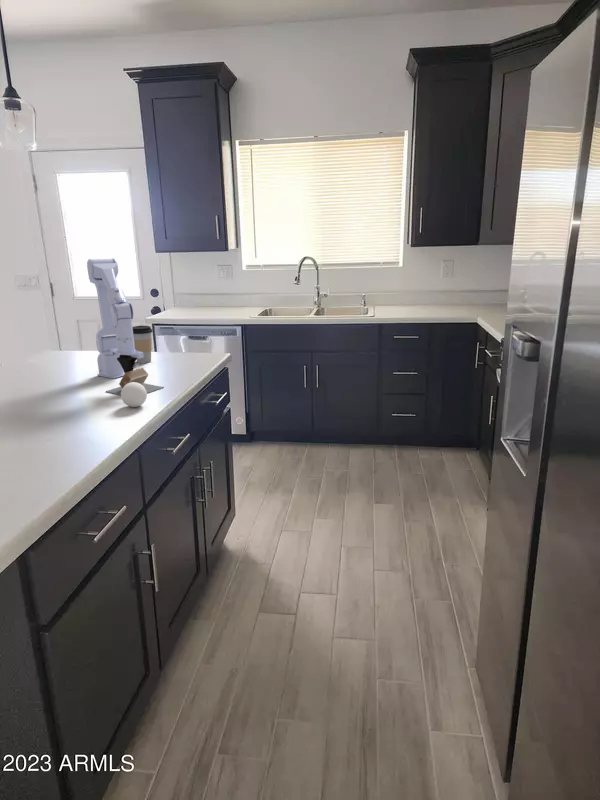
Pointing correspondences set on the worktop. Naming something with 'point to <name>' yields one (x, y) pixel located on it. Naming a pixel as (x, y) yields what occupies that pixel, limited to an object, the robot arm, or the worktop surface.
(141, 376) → the brown wooden block
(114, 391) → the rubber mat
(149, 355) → the coffee cup
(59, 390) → the worktop surface
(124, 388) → the ball
